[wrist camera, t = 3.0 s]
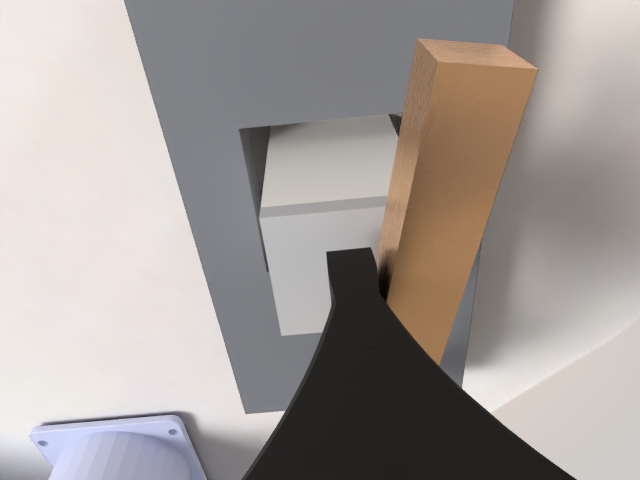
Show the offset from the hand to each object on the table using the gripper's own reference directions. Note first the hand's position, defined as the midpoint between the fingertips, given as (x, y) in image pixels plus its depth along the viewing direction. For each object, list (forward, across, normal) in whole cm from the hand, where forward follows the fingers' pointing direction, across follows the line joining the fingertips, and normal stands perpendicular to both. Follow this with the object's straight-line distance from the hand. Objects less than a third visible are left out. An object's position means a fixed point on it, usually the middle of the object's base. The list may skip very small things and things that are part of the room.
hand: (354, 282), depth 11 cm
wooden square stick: (0, -1, +2) cm, 2 cm away
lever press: (+7, 0, +3) cm, 8 cm away
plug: (+7, 0, +1) cm, 7 cm away
